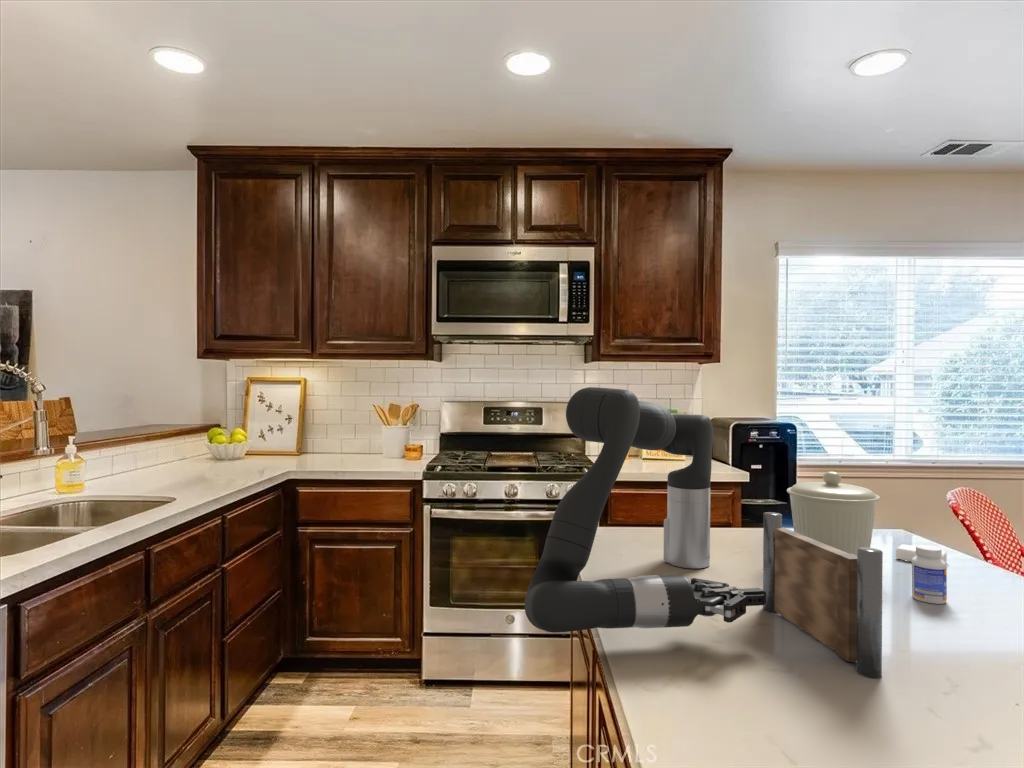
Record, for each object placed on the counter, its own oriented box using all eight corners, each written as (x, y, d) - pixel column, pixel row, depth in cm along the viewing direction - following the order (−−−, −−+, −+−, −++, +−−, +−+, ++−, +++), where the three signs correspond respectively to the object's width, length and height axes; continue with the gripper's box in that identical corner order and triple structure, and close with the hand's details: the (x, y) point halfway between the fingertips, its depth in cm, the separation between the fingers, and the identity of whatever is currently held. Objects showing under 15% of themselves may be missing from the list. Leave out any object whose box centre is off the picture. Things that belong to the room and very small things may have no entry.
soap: (947, 564, 136) (947, 550, 136) (942, 569, 132) (942, 555, 132) (900, 555, 142) (901, 543, 142) (895, 560, 138) (895, 547, 138)
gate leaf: (772, 611, 104) (772, 527, 104) (785, 610, 104) (785, 527, 104) (848, 661, 85) (849, 559, 85) (863, 660, 85) (864, 558, 85)
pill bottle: (952, 605, 109) (953, 552, 109) (919, 603, 110) (919, 550, 110) (937, 595, 114) (938, 544, 114) (906, 593, 115) (906, 543, 115)
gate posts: (759, 606, 107) (760, 512, 107) (774, 606, 108) (775, 512, 108) (867, 679, 81) (867, 553, 81) (887, 677, 81) (887, 552, 81)
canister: (898, 581, 122) (899, 478, 122) (809, 580, 123) (810, 477, 123) (850, 556, 140) (851, 466, 140) (772, 555, 141) (773, 465, 141)
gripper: (674, 591, 84) (788, 586, 86) (641, 563, 97) (741, 559, 99) (674, 644, 84) (788, 638, 86) (641, 609, 97) (741, 604, 99)
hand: (763, 596), depth 93 cm, fingers closed
